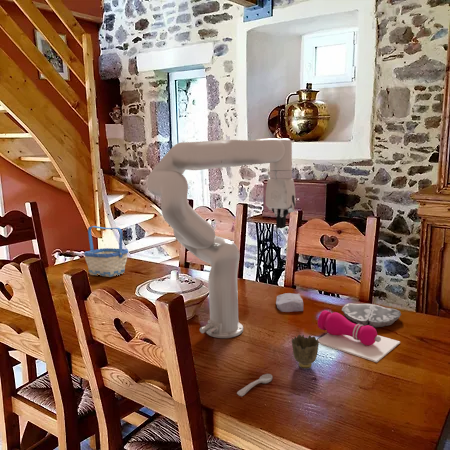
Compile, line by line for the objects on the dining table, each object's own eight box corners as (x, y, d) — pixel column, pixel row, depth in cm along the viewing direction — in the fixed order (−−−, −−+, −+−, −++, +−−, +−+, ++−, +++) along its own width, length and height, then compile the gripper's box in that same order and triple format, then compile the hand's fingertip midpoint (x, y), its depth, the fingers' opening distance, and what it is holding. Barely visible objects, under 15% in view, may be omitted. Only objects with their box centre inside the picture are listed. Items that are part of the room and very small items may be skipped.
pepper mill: (317, 334, 147) (375, 356, 133) (315, 315, 144) (374, 335, 131) (329, 323, 152) (386, 343, 138) (328, 304, 149) (386, 323, 135)
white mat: (376, 362, 128) (376, 360, 128) (315, 342, 141) (315, 340, 141) (400, 343, 139) (400, 341, 139) (341, 326, 153) (341, 324, 153)
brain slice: (337, 326, 153) (337, 317, 153) (345, 308, 169) (345, 301, 168) (399, 334, 146) (399, 325, 145) (401, 315, 161) (402, 307, 160)
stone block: (279, 317, 167) (306, 311, 166) (276, 305, 166) (303, 299, 166) (275, 306, 178) (300, 300, 178) (273, 295, 178) (298, 289, 177)
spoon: (275, 380, 120) (274, 373, 120) (243, 401, 113) (242, 394, 112) (267, 376, 123) (266, 370, 122) (235, 396, 115) (234, 389, 115)
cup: (320, 362, 129) (320, 336, 127) (316, 375, 122) (317, 347, 120) (294, 358, 131) (294, 333, 130) (289, 371, 124) (289, 344, 123)
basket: (134, 272, 222) (131, 225, 217) (110, 282, 208) (106, 232, 203) (104, 267, 232) (100, 222, 228) (79, 276, 218) (75, 228, 214)
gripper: (257, 175, 158) (257, 226, 161) (292, 177, 147) (292, 232, 151) (270, 173, 163) (270, 223, 166) (305, 175, 153) (305, 228, 156)
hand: (281, 227), depth 159 cm, fingers closed
